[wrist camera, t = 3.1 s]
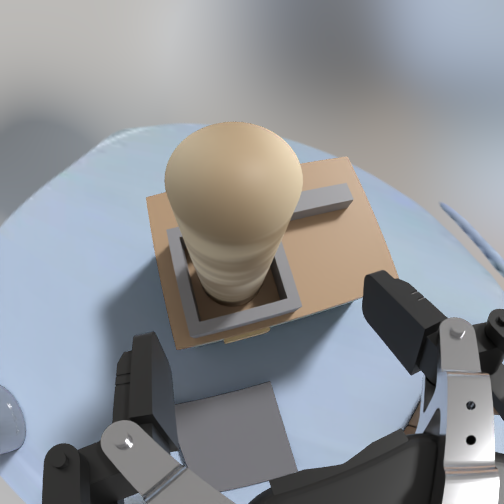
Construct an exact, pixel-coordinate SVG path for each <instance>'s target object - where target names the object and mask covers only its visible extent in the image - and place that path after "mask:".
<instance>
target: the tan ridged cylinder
mask: <svg viewBox="0 0 504 504" xmlns="http://www.w3.org/2000/svg"><path fill="white" fill-rule="evenodd" d="M302 186H303V174H302V169H301V165H300V163H299V160H298V158H297V156H296V154H295V153H294V151H293V150H292V148H291V147H290V146H289V145H288V144H287V143H286V142H285V141H284V140H283V139H282V138H281V137H279V136H278V135H276V134H275V133H273V132H272V131H270V130H268V129H266V128H263V127H261V126H258V125H254V124H250V123H244V122H224V123H218V124H213V125H210V126H207V127H204V128H202V129H200V130H198V131H196V132H194V133H192V134H191V135H189V136H188V137H187V138H186V139H184V140H183V141H182V142H181V143H180V144H179V145H178V146H177V148H176V149H175V150H174V152H173V153H172V155H171V157H170V159H169V161H168V164H167V167H166V172H165V189H166V193H167V197H168V200H169V202H170V205H171V208H172V210H173V213H174V216H175V218H176V221H177V224H178V226H179V229H180V232H181V234H182V237H183V239H184V242H185V244H186V247H187V250H188V252H189V255H190V257H191V260H192V262H193V265H194V267H195V270H196V272H197V274H198V277H199V279H200V282H201V284H202V287H203V289H204V291H205V293H206V294H207V295H208V297H209V298H210V299H212V300H213V301H214V302H216V303H218V304H220V305H223V306H227V307H236V306H241V305H244V304H246V303H248V302H249V301H251V300H252V299H253V298H254V297H255V296H256V295H257V293H258V292H259V290H260V288H261V285H262V283H263V281H264V279H265V276H266V274H267V272H268V270H269V267H270V265H271V263H272V261H273V258H274V256H275V254H276V252H277V249H278V247H279V245H280V242H281V240H282V238H283V236H284V233H285V231H286V229H287V226H288V224H289V222H290V219H291V217H292V215H293V212H294V210H295V208H296V205H297V203H298V201H299V198H300V195H301V192H302Z"/></svg>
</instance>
